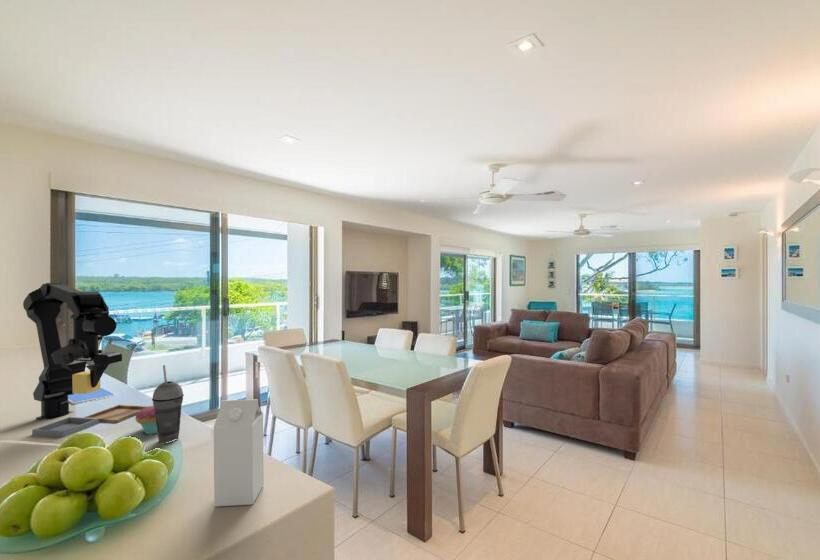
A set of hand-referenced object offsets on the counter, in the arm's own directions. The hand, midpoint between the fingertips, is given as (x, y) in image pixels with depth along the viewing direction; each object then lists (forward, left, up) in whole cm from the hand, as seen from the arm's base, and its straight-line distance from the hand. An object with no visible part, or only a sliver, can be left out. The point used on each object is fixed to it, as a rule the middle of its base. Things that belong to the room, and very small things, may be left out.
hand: (86, 386), depth 116 cm
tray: (+2, +8, -11) cm, 14 cm away
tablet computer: (-29, +26, -12) cm, 41 cm away
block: (0, 0, -1) cm, 1 cm away
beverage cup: (+32, -6, -12) cm, 35 cm away
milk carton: (+67, -28, -12) cm, 74 cm away
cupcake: (+23, -1, -12) cm, 26 cm away
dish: (-2, -5, -11) cm, 12 cm away
